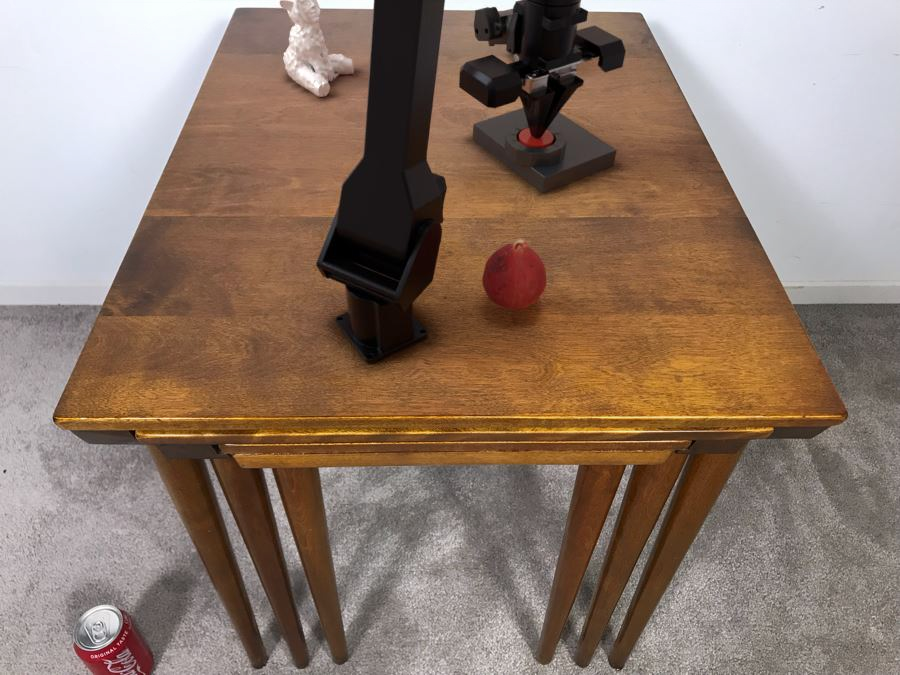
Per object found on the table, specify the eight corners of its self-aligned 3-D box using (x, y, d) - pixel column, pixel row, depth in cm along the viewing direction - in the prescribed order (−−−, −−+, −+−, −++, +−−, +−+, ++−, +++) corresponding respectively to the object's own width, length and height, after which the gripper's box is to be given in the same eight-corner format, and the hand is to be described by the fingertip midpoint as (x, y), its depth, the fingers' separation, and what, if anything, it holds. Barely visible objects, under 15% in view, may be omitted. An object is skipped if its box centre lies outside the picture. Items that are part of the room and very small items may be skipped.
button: (558, 152, 83) (560, 138, 82) (531, 162, 82) (533, 148, 81) (537, 137, 86) (538, 123, 84) (510, 146, 84) (512, 133, 83)
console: (613, 165, 86) (619, 136, 83) (536, 196, 81) (540, 166, 78) (540, 116, 94) (543, 87, 91) (466, 141, 89) (467, 112, 86)
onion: (491, 332, 66) (497, 266, 60) (473, 292, 70) (477, 226, 64) (550, 321, 67) (561, 255, 61) (529, 282, 71) (538, 216, 65)
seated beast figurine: (323, 100, 96) (313, 8, 87) (269, 87, 98) (253, -4, 90) (357, 71, 102) (351, -17, 93) (305, 59, 104) (294, -28, 96)
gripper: (571, -45, 80) (553, 88, 91) (430, -13, 72) (430, 127, 83) (642, -13, 73) (613, 126, 84) (496, 26, 66) (486, 172, 77)
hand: (536, 136), depth 82 cm, fingers closed, pressing on button
